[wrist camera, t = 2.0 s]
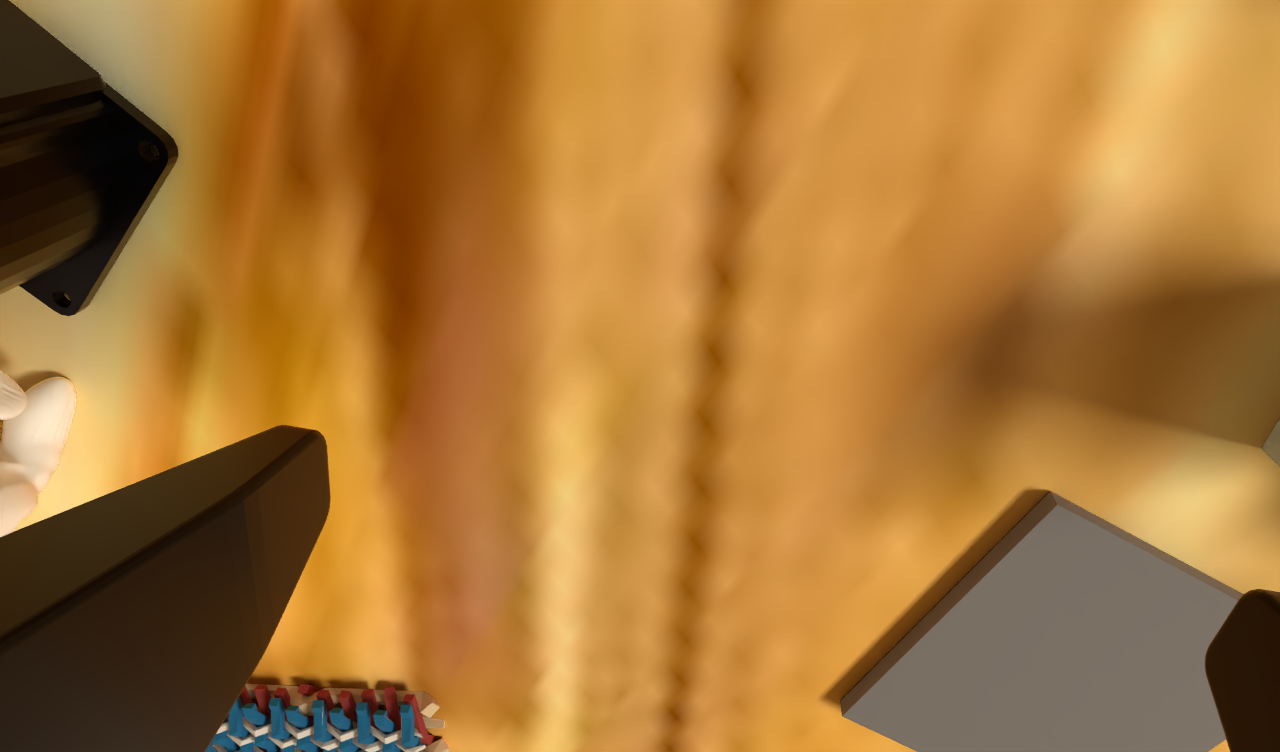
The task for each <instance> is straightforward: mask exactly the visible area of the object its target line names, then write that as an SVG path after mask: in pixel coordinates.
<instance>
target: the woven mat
mask: <svg viewBox="0 0 1280 752" xmlns="http://www.w3.org/2000/svg"><path fill="white" fill-rule="evenodd" d="M251 698H253V699H257V702H258V705H259V707H256V704H255V703H253V702H252V700H251ZM338 703H341V705H342V708H335V706H334V705H336V704H338ZM378 705H386V709H387V710H379V708H378ZM398 706H401V708H400V711H399V707H398ZM439 708H440V707H439V705H438V703H437V701H436V700H435V699H434V698H433V697H431V696H430V695H428V694H427V693H425V692H415V691H395V686H392V687H387V688H385V690H375V689H355V688H329V687H327V688H324V689H320V690H319V691H318V690H317V688H316V687H315V686H312V685H308V684H300V686H286V685H264V684H246V685H245V687H244V689H243V690H242V692H241V694H240V695H239V697H238V699H237V700H236V702H235V704H234V705H233V707H232V709H231V710H230V712H229V713H228V715H227V717H226V718H225V720H224V722H223V723H222V725H221V727H220V728H219V730H218V732H217V733H216V735H215V737H214V738H213V740H212V742H211V743H210V745H209V747H208V748H207V750H206V751H205V752H450V751H449V747H448V745H447V744H446V742H445V740H444V739H443V738H441V739H439V740H438V741H436V742H435V738H434V735H428V732H427V729H426V728H445V727H446V725H445V721H444V719H436V718H431V717H432V715H433V714H434V713H435V712H436V711H437V710H438V709H439ZM343 710H344V711H343ZM421 713H422V714H424V715H425V716H427V717H422V714H421Z"/></svg>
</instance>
